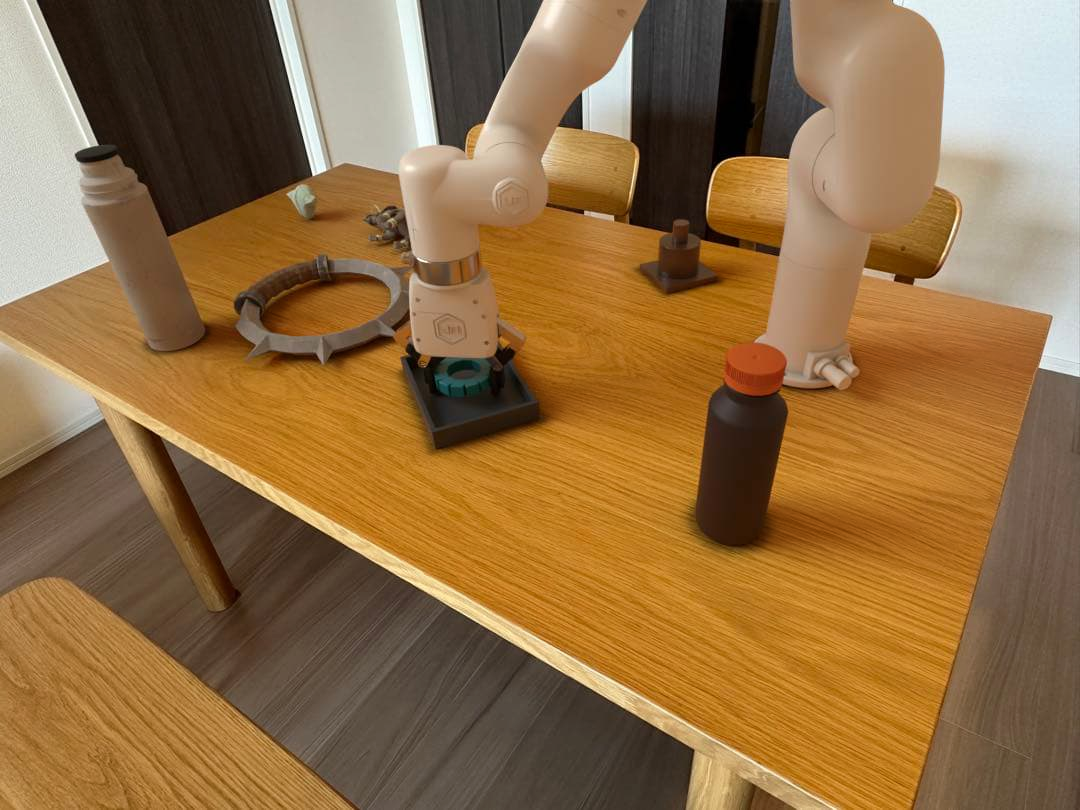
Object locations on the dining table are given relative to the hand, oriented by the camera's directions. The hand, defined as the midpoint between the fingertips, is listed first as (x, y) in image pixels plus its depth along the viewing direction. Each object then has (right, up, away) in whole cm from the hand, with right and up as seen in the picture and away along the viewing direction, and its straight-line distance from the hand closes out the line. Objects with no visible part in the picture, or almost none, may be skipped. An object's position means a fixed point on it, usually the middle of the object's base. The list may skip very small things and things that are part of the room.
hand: (466, 388), depth 89 cm
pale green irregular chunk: (-36, +35, +50) cm, 71 cm away
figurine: (-15, +30, +42) cm, 54 cm away
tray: (0, -1, +1) cm, 1 cm away
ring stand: (+31, +19, +23) cm, 43 cm away
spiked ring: (-22, +11, +18) cm, 31 cm away
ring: (0, +2, -1) cm, 2 cm away
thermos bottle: (-45, +8, +16) cm, 49 cm away
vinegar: (+28, -14, -19) cm, 37 cm away
